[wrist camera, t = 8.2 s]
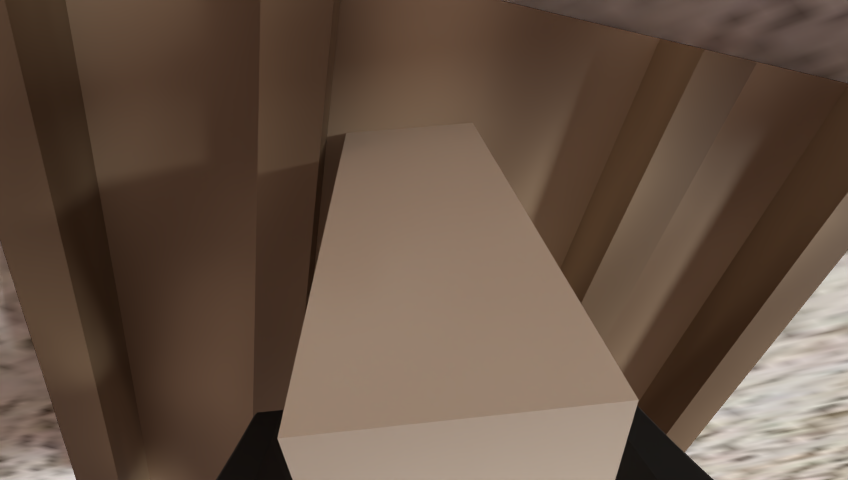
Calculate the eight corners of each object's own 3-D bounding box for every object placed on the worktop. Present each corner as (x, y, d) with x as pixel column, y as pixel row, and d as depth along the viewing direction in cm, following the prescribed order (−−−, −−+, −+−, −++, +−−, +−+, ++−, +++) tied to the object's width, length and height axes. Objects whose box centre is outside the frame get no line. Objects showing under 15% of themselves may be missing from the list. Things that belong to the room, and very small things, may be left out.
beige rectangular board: (472, 123, 11) (637, 400, 4) (472, 436, 17) (534, 754, 10) (346, 132, 10) (277, 438, 4) (393, 445, 17) (401, 773, 10)
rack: (863, 87, 12) (981, 115, 10) (600, 473, 21) (628, 537, 19) (-19, -124, 9) (-175, -162, 6) (114, 450, 17) (71, 526, 15)
